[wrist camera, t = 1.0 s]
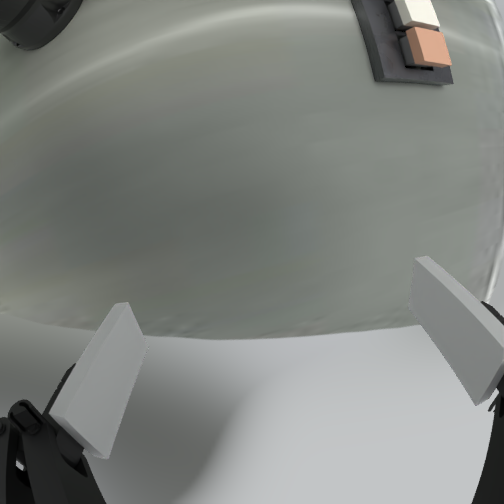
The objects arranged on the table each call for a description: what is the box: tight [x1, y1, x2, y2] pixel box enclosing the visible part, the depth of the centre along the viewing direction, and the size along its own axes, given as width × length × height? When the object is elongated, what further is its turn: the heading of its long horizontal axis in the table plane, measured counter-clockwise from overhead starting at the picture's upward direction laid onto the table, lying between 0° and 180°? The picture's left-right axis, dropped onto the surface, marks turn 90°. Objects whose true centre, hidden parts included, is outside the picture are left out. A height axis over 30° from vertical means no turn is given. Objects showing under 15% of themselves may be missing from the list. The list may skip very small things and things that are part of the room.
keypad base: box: [351, 0, 453, 85], centre depth 22 cm, size 19×12×3 cm, turn 11°
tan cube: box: [398, 27, 452, 68], centre depth 22 cm, size 5×5×5 cm
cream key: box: [387, 0, 440, 31], centre depth 19 cm, size 5×5×5 cm
